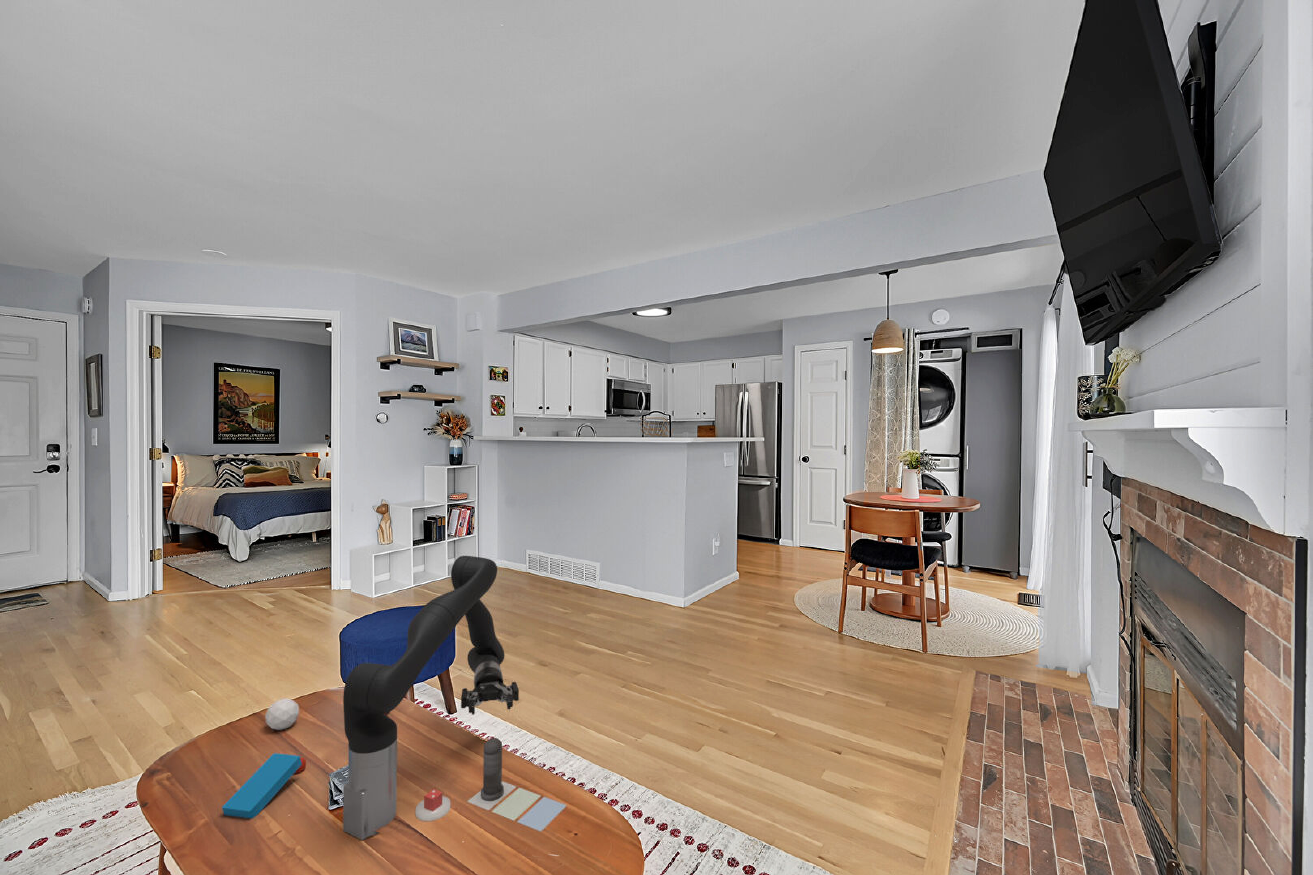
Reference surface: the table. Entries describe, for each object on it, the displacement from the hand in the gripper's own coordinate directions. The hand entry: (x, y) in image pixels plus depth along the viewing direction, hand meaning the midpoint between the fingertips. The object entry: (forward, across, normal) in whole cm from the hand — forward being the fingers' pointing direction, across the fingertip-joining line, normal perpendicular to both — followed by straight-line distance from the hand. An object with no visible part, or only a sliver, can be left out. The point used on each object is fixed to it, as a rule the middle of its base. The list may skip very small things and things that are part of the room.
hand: (491, 708), depth 141 cm
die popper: (+15, -13, +14) cm, 24 cm away
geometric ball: (-35, -54, +14) cm, 66 cm away
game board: (+19, +4, +14) cm, 24 cm away
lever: (-4, -48, +14) cm, 50 cm away
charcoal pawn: (+14, 0, +13) cm, 19 cm away
